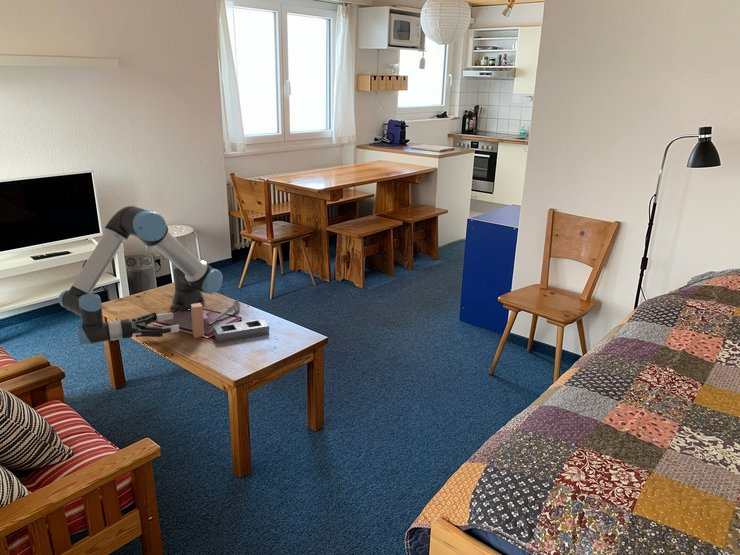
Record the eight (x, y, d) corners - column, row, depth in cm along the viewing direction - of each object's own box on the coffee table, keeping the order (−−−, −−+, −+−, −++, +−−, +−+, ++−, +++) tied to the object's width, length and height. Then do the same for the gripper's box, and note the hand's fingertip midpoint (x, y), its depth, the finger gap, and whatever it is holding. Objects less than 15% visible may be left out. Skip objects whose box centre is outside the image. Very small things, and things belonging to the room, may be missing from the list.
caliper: (238, 310, 271) (237, 298, 269) (240, 311, 270) (239, 298, 268) (207, 325, 254) (207, 312, 252) (209, 325, 253) (209, 312, 251)
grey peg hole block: (213, 334, 244) (213, 325, 243) (262, 326, 254) (262, 318, 253) (218, 342, 237) (218, 334, 236) (269, 334, 247) (269, 326, 246)
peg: (192, 334, 244) (190, 304, 239) (202, 332, 245) (200, 302, 241) (194, 337, 240) (192, 307, 236) (204, 336, 242) (202, 306, 237)
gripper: (118, 326, 238) (171, 318, 248) (125, 351, 217) (182, 341, 227) (116, 309, 236) (170, 302, 245) (123, 333, 215) (181, 324, 224)
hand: (176, 321), depth 236 cm, fingers open, 13 cm apart
